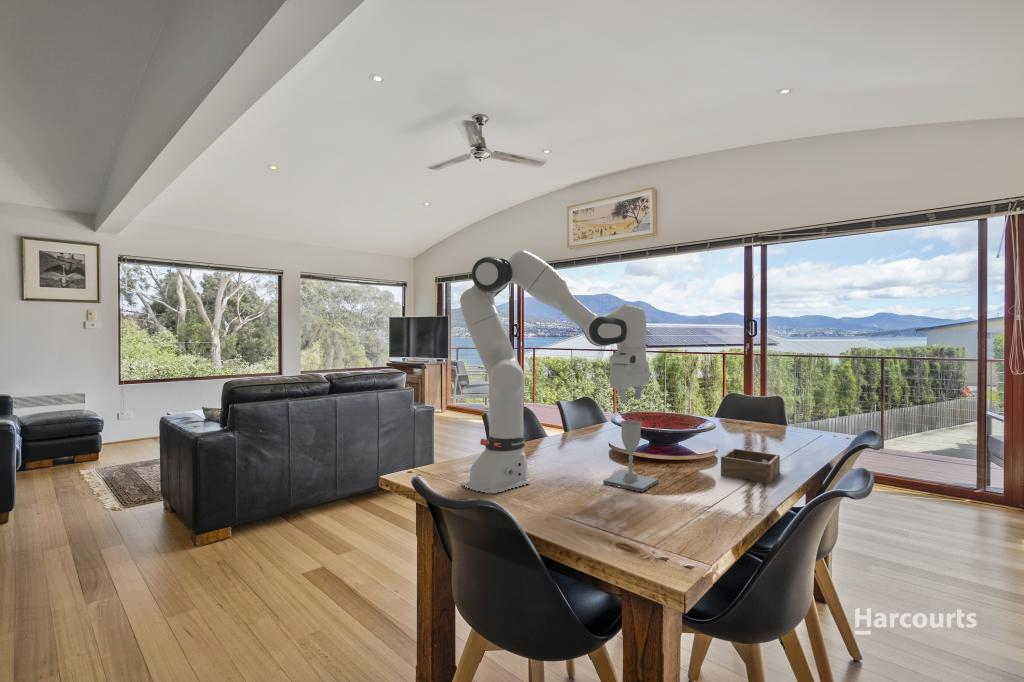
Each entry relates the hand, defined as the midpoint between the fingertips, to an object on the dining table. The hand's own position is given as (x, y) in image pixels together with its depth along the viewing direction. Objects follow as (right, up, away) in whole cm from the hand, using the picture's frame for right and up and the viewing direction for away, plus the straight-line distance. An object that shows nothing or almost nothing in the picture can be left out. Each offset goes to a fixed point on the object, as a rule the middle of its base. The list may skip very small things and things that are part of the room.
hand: (630, 401), depth 152 cm
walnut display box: (+42, -26, +10) cm, 50 cm away
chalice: (0, -25, +1) cm, 25 cm away
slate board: (0, -26, +1) cm, 26 cm away
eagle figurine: (+43, -26, +7) cm, 51 cm away
